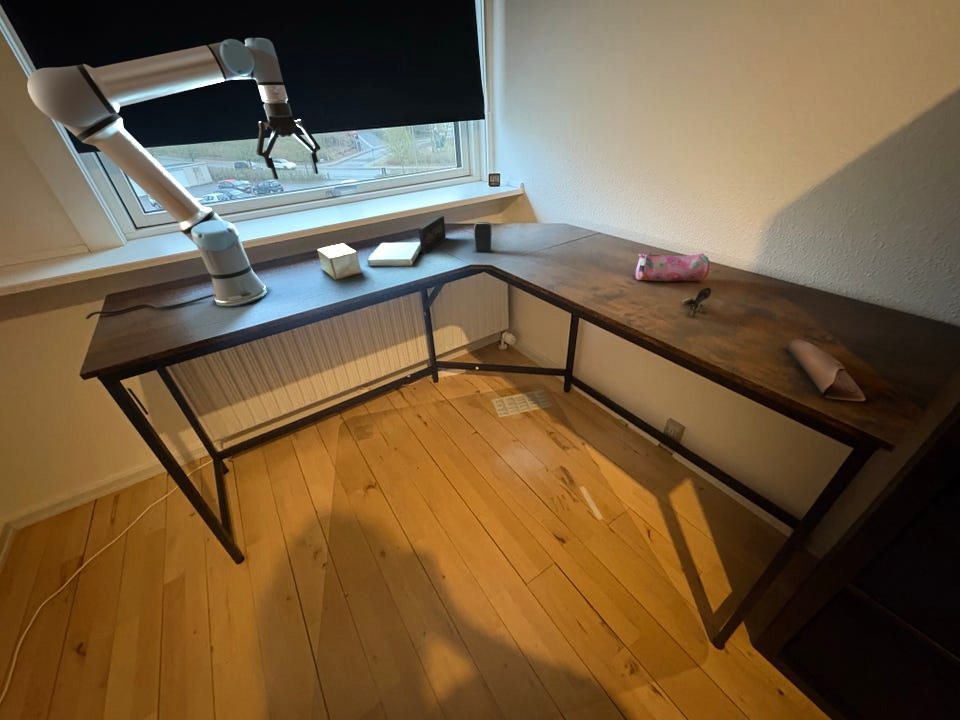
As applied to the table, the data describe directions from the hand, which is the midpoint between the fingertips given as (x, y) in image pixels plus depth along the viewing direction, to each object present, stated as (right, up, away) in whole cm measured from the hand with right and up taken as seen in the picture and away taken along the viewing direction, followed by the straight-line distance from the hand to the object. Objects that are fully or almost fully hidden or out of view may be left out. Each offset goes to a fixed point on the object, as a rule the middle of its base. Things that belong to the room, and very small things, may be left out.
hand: (296, 176), depth 131 cm
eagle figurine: (+125, -50, -23) cm, 137 cm away
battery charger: (+66, -19, +25) cm, 73 cm away
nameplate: (+44, -14, +33) cm, 57 cm away
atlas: (+30, -22, +22) cm, 43 cm away
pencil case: (+127, -38, -5) cm, 132 cm away
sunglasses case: (+139, -67, -49) cm, 162 cm away
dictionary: (+12, -31, +11) cm, 35 cm away
